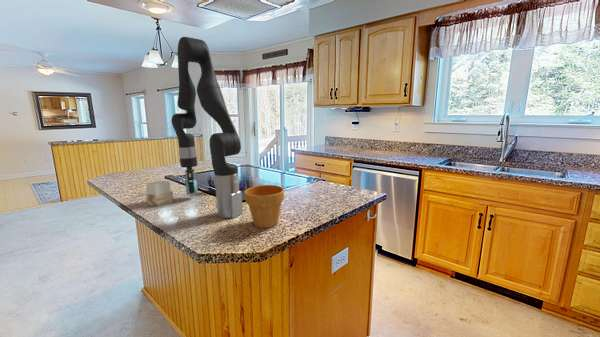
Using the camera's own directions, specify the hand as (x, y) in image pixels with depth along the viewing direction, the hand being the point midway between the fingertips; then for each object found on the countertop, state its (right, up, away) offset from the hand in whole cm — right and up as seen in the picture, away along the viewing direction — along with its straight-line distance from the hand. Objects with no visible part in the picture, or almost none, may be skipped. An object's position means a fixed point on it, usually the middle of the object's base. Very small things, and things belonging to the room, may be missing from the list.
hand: (192, 191), depth 136 cm
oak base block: (-13, -5, -4) cm, 15 cm away
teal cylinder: (0, -1, 0) cm, 1 cm away
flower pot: (+39, -10, -30) cm, 51 cm away
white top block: (-13, 0, -5) cm, 14 cm away
